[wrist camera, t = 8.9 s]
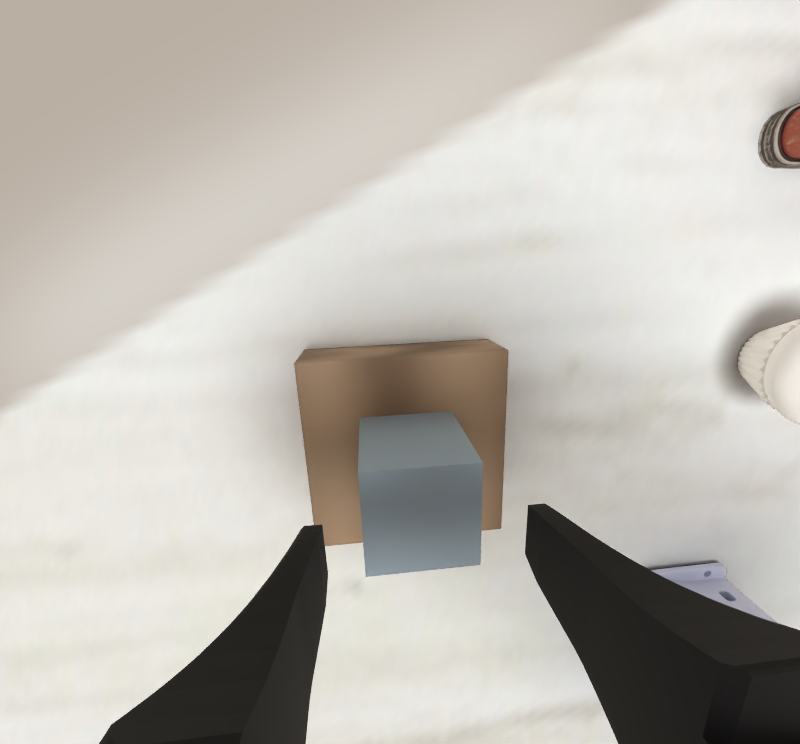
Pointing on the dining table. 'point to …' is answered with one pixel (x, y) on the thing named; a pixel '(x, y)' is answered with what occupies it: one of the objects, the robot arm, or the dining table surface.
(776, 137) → the lighter
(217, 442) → the dining table surface
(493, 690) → the dining table surface
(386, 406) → the walnut block
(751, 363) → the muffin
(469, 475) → the slate cube
